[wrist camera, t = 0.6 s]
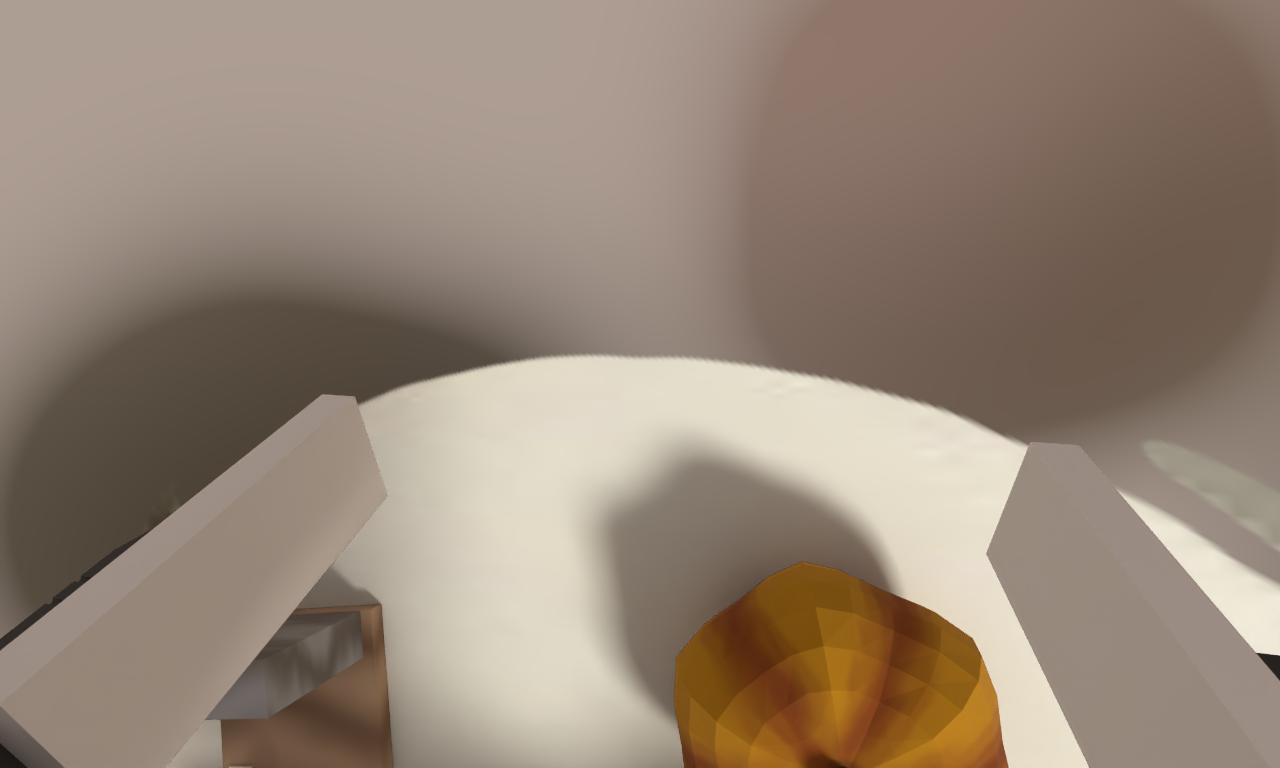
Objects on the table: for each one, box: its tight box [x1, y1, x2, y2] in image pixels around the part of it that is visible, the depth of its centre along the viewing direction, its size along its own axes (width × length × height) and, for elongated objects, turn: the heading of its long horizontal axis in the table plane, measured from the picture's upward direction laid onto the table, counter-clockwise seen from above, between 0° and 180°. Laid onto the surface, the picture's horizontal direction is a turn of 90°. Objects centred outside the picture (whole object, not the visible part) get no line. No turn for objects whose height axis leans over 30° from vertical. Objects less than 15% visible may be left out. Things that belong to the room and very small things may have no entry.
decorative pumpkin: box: [674, 562, 1009, 768], centre depth 36 cm, size 20×22×15 cm
